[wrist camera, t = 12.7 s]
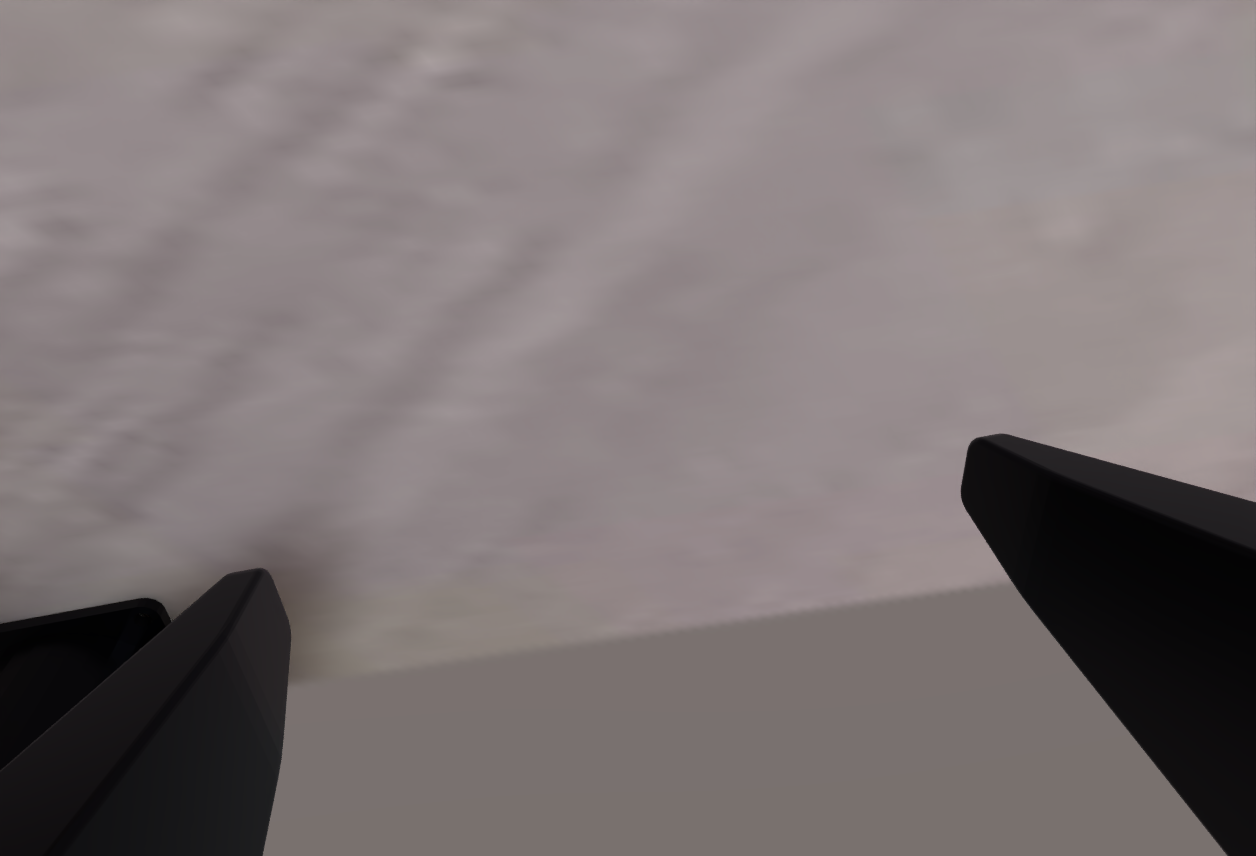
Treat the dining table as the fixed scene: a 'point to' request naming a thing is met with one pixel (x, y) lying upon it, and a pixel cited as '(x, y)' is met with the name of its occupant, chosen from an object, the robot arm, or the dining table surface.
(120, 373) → the dining table surface
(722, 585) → the dining table surface
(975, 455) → the robot arm
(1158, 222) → the dining table surface
